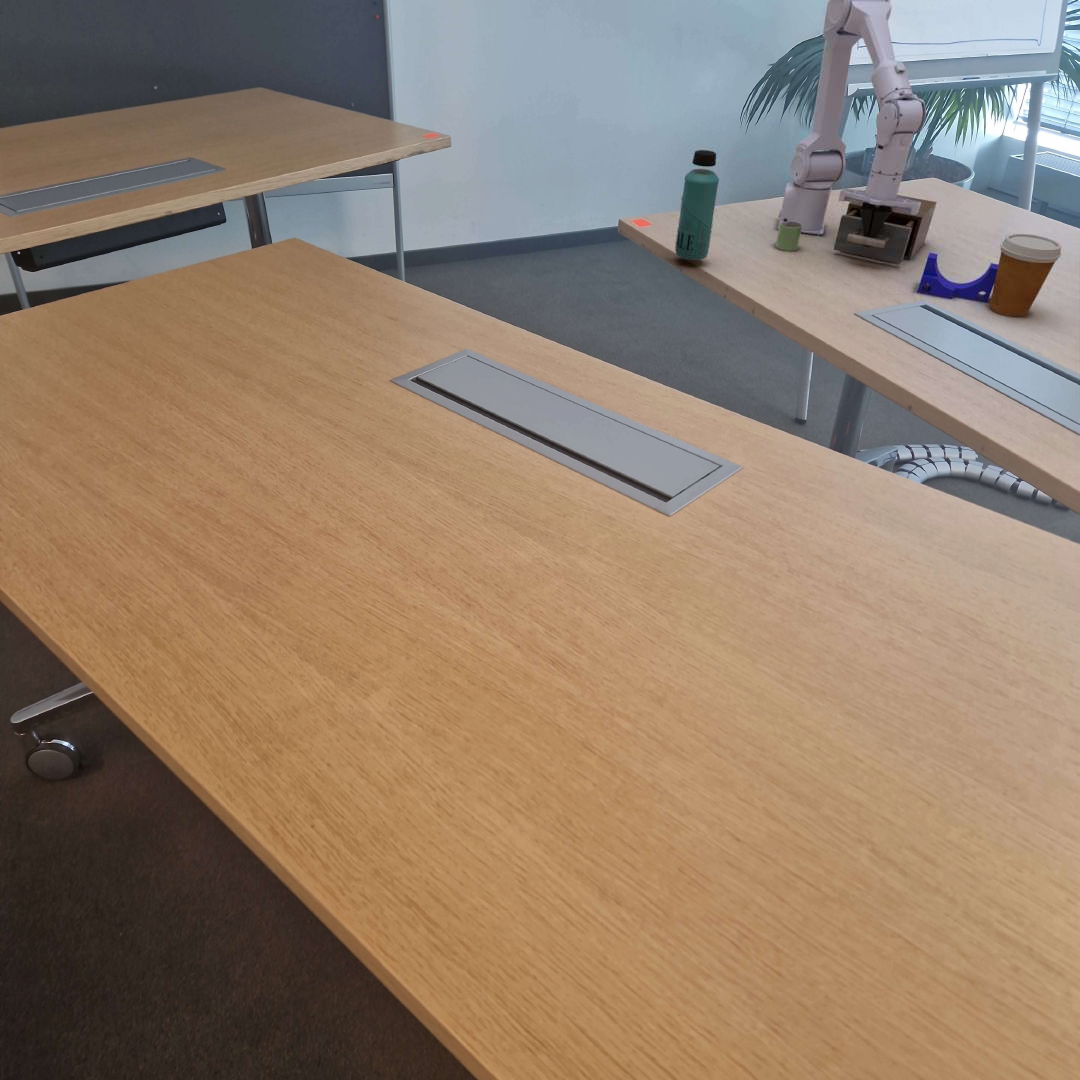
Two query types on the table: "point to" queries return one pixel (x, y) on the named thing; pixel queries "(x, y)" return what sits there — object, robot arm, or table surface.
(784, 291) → the table surface
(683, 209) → the beverage bottle
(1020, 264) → the disposable coffee cup
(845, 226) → the drawer
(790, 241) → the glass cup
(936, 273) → the blue cradle bracket
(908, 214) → the cabinet
